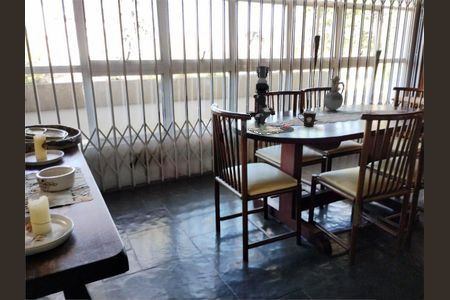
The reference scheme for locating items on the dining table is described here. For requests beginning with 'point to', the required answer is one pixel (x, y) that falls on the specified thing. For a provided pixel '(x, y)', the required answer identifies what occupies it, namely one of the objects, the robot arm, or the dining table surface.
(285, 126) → the button
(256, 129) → the colouring board
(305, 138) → the dining table surface
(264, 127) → the marker
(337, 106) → the pitcher
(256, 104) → the robot arm
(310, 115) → the coffee mug
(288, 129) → the button housing
